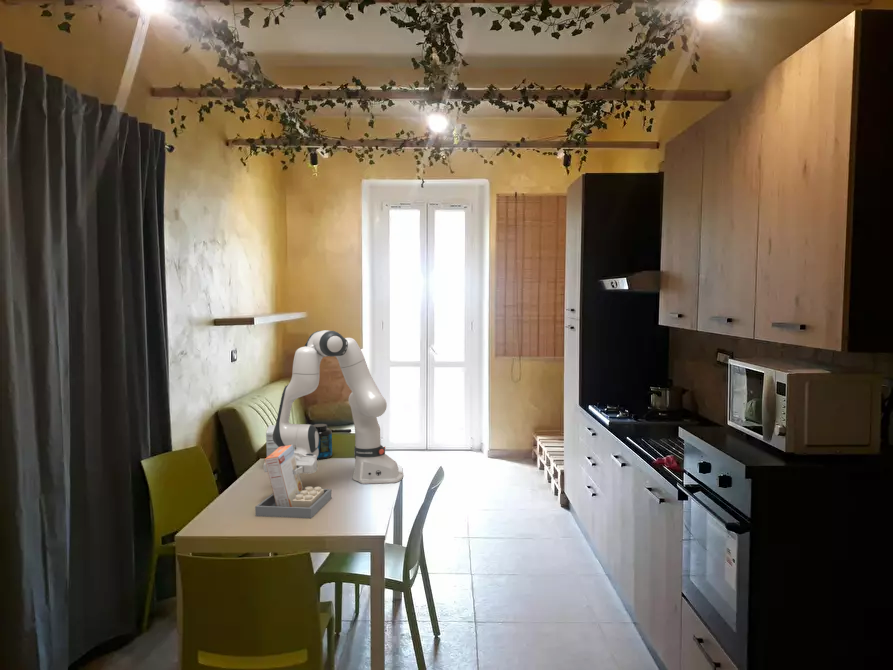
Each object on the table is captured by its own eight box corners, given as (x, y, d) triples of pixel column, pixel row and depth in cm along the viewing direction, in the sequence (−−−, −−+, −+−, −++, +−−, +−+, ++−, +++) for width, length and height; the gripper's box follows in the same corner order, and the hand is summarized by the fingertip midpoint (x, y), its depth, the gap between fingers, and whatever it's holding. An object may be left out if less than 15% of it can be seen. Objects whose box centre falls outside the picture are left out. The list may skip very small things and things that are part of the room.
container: (303, 457, 299) (302, 426, 298) (321, 452, 308) (320, 422, 307) (319, 461, 292) (318, 428, 291) (337, 456, 301) (336, 424, 300)
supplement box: (295, 468, 279) (294, 430, 278) (266, 470, 276) (265, 432, 275) (297, 459, 296) (296, 423, 295) (269, 461, 293) (268, 424, 292)
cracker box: (291, 497, 232) (278, 446, 230) (305, 495, 231) (293, 443, 229) (276, 512, 219) (263, 458, 216) (291, 510, 218) (278, 455, 216)
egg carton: (324, 501, 230) (323, 485, 230) (311, 514, 216) (310, 497, 216) (307, 500, 231) (306, 485, 231) (292, 513, 217) (292, 497, 217)
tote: (331, 500, 234) (331, 489, 233) (311, 521, 212) (310, 508, 212) (280, 498, 237) (280, 487, 236) (255, 518, 215) (255, 506, 215)
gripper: (271, 453, 240) (256, 463, 226) (320, 454, 237) (307, 464, 223) (272, 469, 240) (256, 479, 227) (320, 470, 237) (307, 481, 224)
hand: (282, 472), depth 225 cm, fingers open, 8 cm apart
